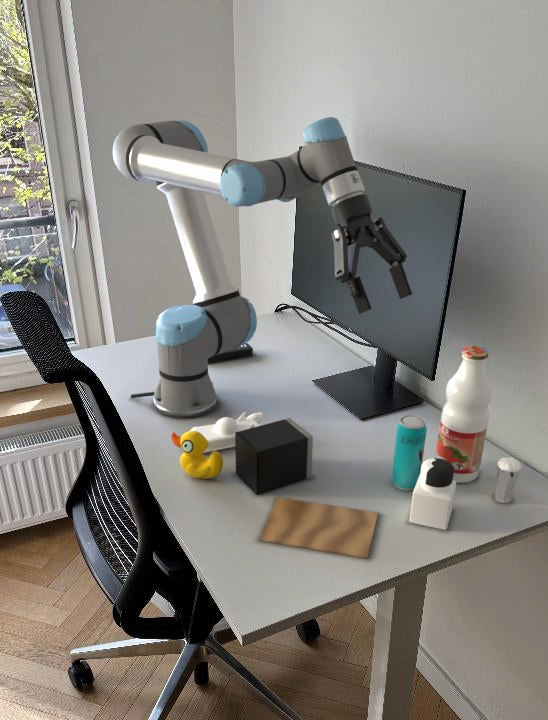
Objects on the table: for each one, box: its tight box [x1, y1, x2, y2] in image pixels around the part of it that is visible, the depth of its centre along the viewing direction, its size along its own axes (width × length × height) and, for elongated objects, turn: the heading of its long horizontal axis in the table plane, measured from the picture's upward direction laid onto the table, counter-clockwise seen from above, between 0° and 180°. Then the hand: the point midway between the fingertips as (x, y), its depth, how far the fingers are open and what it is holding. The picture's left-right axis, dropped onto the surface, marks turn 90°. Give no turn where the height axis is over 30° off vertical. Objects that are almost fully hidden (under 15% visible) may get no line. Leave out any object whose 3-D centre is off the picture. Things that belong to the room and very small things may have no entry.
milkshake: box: [494, 456, 528, 504], centre depth 149 cm, size 4×5×10 cm
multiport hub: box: [208, 342, 254, 364], centre depth 209 cm, size 4×14×2 cm, turn 115°
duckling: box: [170, 430, 224, 480], centre depth 154 cm, size 11×5×10 cm, turn 68°
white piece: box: [189, 411, 264, 454], centre depth 168 cm, size 10×20×6 cm, turn 111°
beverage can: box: [391, 414, 428, 492], centre depth 152 cm, size 6×6×15 cm
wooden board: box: [258, 497, 379, 559], centre depth 142 cm, size 20×14×1 cm
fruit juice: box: [434, 345, 494, 484], centre depth 153 cm, size 9×9×28 cm
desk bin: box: [234, 417, 314, 496], centre depth 155 cm, size 13×9×10 cm
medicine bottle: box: [408, 457, 457, 531], centre depth 143 cm, size 7×7×12 cm
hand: (386, 304), depth 149 cm, fingers open, 13 cm apart
